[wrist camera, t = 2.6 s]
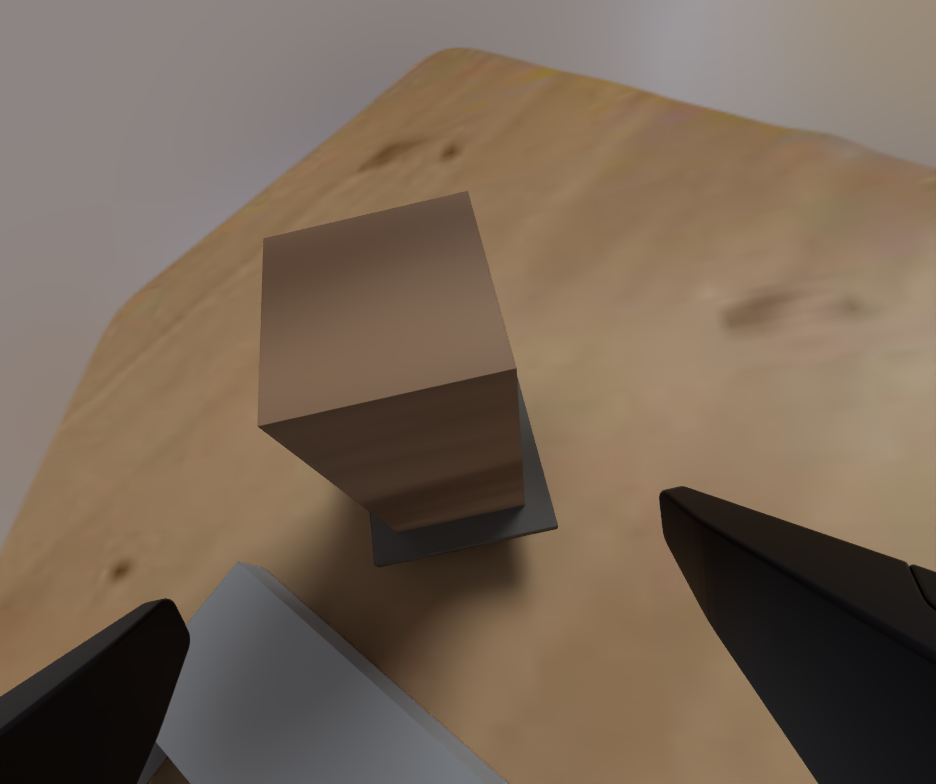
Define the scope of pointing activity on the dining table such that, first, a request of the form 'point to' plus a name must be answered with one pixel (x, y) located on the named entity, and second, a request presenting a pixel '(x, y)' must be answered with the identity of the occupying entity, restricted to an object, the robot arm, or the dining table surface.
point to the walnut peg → (401, 378)
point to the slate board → (295, 703)
